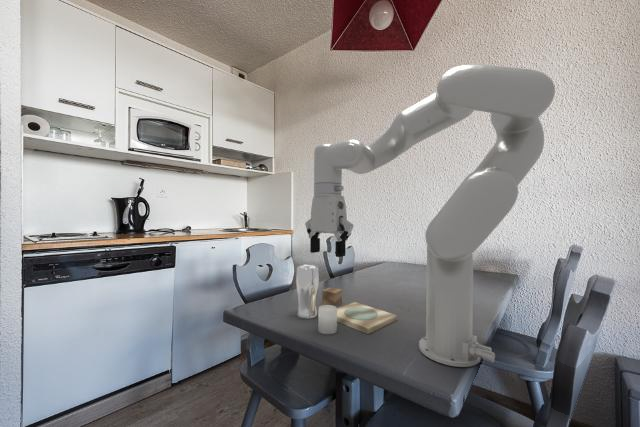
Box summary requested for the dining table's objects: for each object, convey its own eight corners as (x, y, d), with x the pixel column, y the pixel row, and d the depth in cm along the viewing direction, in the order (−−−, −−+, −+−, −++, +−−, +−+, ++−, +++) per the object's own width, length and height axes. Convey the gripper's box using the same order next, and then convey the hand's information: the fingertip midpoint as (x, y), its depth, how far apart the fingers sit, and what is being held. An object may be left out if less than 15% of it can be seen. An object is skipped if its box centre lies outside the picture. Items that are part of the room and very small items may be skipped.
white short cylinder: (340, 330, 73) (340, 308, 73) (327, 336, 70) (327, 312, 70) (327, 324, 77) (327, 303, 77) (314, 329, 74) (314, 307, 74)
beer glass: (315, 320, 80) (316, 269, 80) (293, 318, 82) (293, 268, 82) (320, 311, 87) (320, 265, 87) (299, 310, 88) (299, 264, 88)
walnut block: (341, 303, 95) (341, 289, 95) (335, 307, 91) (335, 292, 91) (329, 301, 98) (329, 287, 98) (322, 305, 94) (322, 290, 94)
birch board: (397, 320, 81) (397, 314, 81) (368, 334, 71) (368, 327, 71) (355, 306, 92) (355, 301, 92) (325, 317, 83) (325, 311, 83)
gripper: (361, 190, 70) (361, 256, 70) (316, 193, 83) (315, 249, 83) (342, 188, 65) (341, 260, 65) (296, 192, 78) (296, 252, 78)
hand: (327, 254), depth 74 cm, fingers open, 9 cm apart
